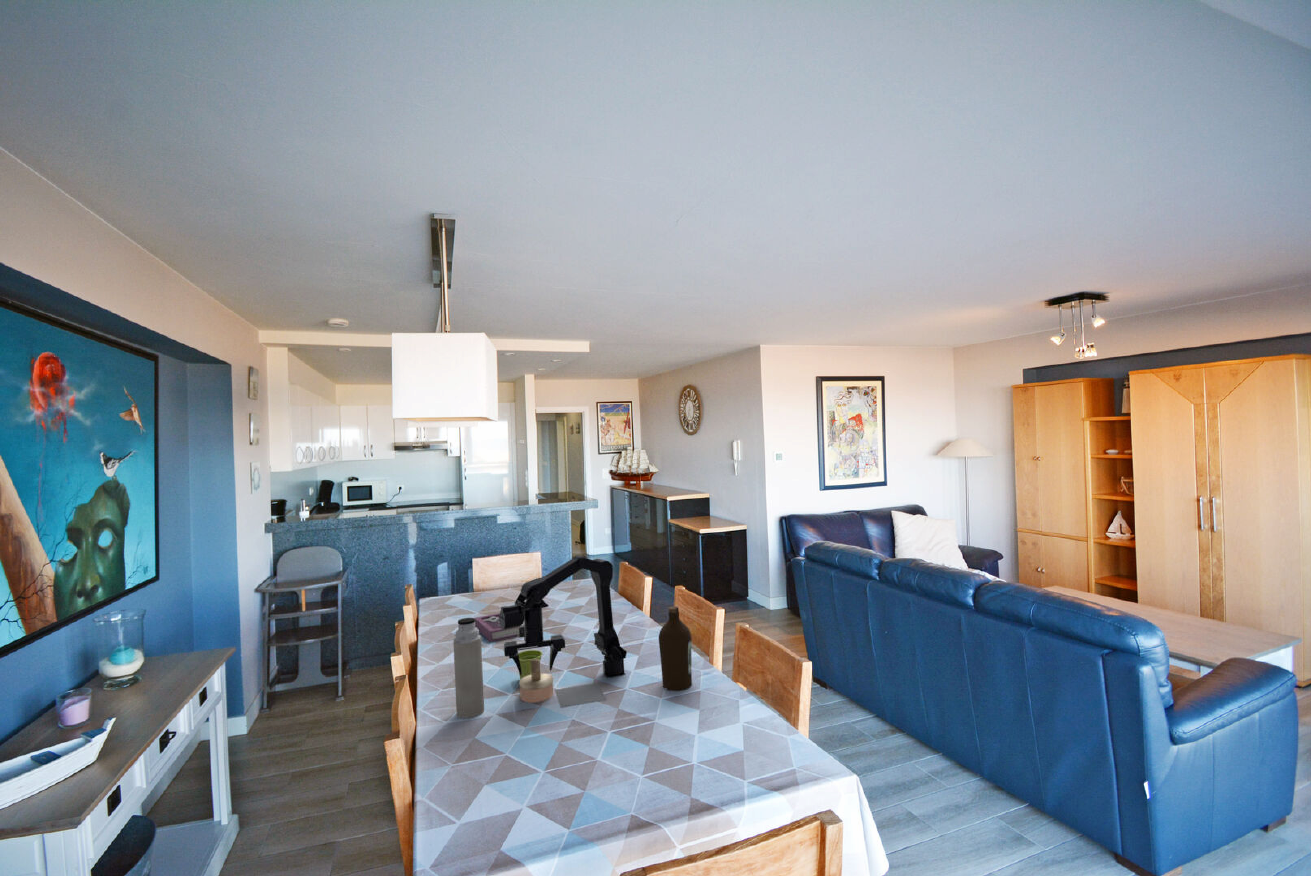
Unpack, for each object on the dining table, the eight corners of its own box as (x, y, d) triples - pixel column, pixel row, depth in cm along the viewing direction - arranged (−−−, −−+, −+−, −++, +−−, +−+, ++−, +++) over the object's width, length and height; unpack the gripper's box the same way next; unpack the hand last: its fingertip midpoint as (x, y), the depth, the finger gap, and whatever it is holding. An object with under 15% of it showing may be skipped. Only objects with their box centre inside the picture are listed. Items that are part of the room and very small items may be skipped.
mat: (597, 684, 194) (597, 682, 194) (606, 701, 180) (606, 699, 180) (555, 691, 190) (555, 689, 190) (560, 709, 176) (560, 707, 176)
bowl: (550, 688, 192) (550, 674, 192) (554, 700, 183) (554, 686, 183) (519, 693, 190) (518, 679, 190) (521, 706, 180) (521, 691, 180)
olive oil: (661, 692, 185) (657, 613, 185) (660, 679, 195) (656, 604, 196) (695, 690, 185) (691, 611, 186) (692, 677, 196) (688, 602, 196)
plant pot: (537, 686, 195) (535, 660, 195) (510, 685, 197) (509, 659, 197) (547, 675, 204) (546, 650, 204) (522, 674, 206) (521, 649, 206)
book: (528, 635, 251) (528, 623, 251) (490, 643, 242) (490, 631, 243) (510, 621, 273) (509, 610, 273) (474, 628, 264) (474, 617, 264)
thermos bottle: (467, 705, 183) (463, 614, 183) (489, 707, 180) (485, 616, 180) (450, 716, 175) (446, 622, 175) (473, 719, 172) (469, 623, 173)
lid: (550, 674, 193) (549, 652, 193) (555, 686, 183) (554, 663, 183) (518, 679, 190) (517, 657, 190) (520, 692, 180) (519, 668, 180)
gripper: (559, 612, 197) (561, 659, 197) (502, 619, 191) (504, 668, 191) (564, 621, 186) (566, 671, 186) (503, 629, 181) (505, 680, 181)
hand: (535, 672), depth 186 cm, fingers open, 9 cm apart
